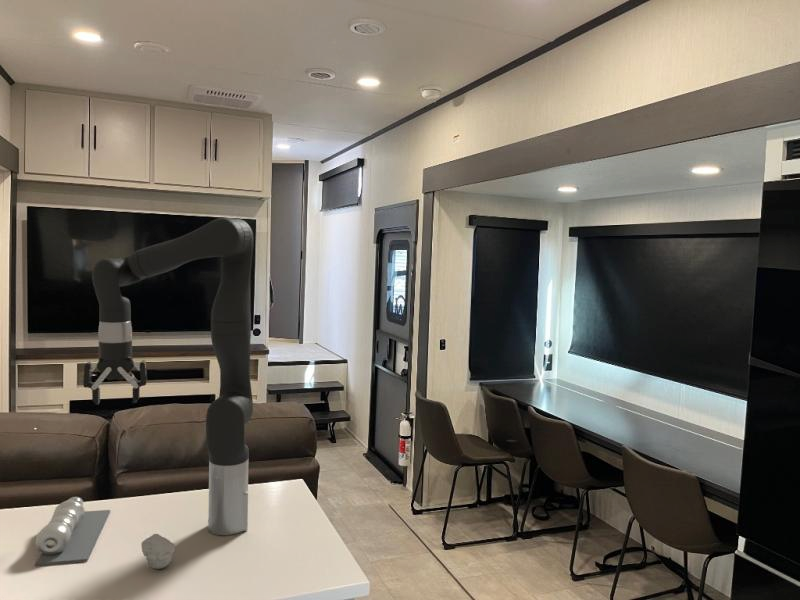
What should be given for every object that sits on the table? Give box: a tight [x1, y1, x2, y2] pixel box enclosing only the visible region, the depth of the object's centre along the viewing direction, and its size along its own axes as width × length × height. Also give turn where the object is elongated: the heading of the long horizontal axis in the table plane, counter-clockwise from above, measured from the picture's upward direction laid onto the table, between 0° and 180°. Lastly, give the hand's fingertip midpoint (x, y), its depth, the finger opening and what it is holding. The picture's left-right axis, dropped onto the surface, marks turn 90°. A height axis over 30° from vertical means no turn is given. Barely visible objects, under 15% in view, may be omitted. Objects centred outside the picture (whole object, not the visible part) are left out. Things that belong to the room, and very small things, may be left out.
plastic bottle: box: [35, 496, 85, 555], centre depth 139 cm, size 6×7×20 cm
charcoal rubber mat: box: [34, 509, 111, 567], centre depth 140 cm, size 10×24×1 cm, turn 15°
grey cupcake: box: [141, 533, 176, 570], centre depth 129 cm, size 6×7×7 cm
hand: (116, 402), depth 151 cm, fingers open, 8 cm apart
